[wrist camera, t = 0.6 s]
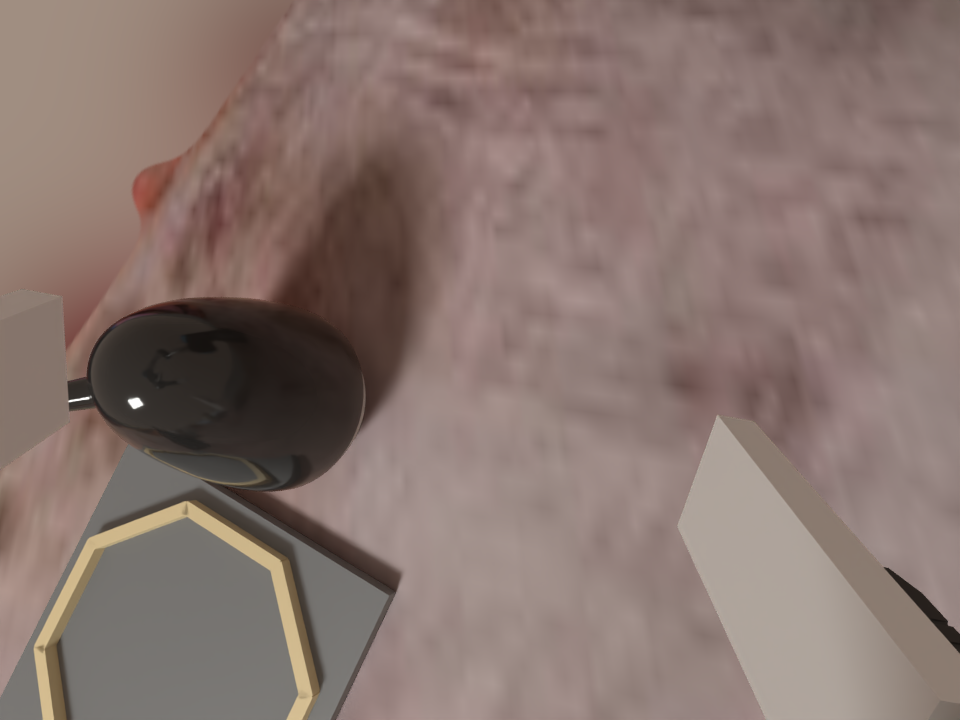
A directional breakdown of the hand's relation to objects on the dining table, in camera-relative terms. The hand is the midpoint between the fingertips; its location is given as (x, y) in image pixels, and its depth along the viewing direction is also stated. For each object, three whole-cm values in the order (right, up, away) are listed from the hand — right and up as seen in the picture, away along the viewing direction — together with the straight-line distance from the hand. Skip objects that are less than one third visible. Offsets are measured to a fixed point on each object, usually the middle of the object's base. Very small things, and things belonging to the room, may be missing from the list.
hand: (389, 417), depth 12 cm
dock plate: (-16, -17, +24) cm, 34 cm away
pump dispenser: (-8, -2, +26) cm, 27 cm away
